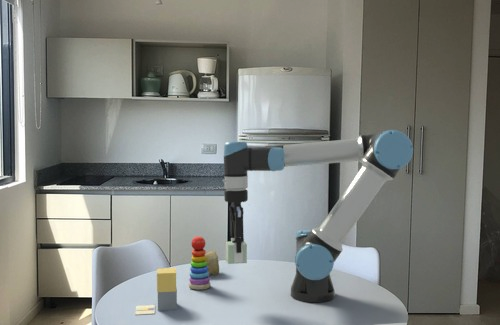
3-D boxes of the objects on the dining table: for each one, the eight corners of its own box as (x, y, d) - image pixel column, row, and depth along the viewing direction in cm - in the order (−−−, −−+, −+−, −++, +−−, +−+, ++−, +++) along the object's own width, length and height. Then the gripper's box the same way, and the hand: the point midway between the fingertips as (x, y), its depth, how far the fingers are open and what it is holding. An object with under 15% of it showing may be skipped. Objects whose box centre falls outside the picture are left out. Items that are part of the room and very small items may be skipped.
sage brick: (243, 258, 175) (243, 240, 175) (246, 263, 169) (246, 244, 169) (225, 259, 174) (225, 241, 174) (228, 263, 168) (228, 245, 168)
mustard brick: (176, 285, 174) (175, 268, 174) (176, 291, 168) (176, 272, 168) (157, 286, 173) (157, 268, 173) (157, 292, 167) (156, 273, 167)
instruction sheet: (154, 305, 172) (154, 304, 172) (154, 313, 164) (154, 312, 164) (136, 306, 171) (136, 305, 171) (135, 314, 163) (135, 314, 163)
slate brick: (176, 303, 174) (176, 285, 174) (176, 309, 169) (176, 291, 168) (157, 304, 173) (157, 286, 173) (157, 310, 168) (157, 292, 167)
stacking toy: (199, 282, 198) (199, 233, 197) (215, 286, 193) (215, 236, 192) (184, 287, 192) (184, 236, 191) (199, 291, 187) (199, 239, 186)
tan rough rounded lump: (228, 259, 206) (205, 250, 204) (217, 283, 207) (194, 273, 204) (225, 252, 215) (203, 243, 213) (215, 274, 216) (192, 265, 214)
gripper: (221, 186, 179) (222, 253, 180) (228, 192, 160) (229, 267, 162) (242, 186, 180) (243, 252, 182) (252, 192, 162) (253, 266, 163)
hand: (236, 259), depth 172 cm, fingers closed on sage brick, 6 cm apart
